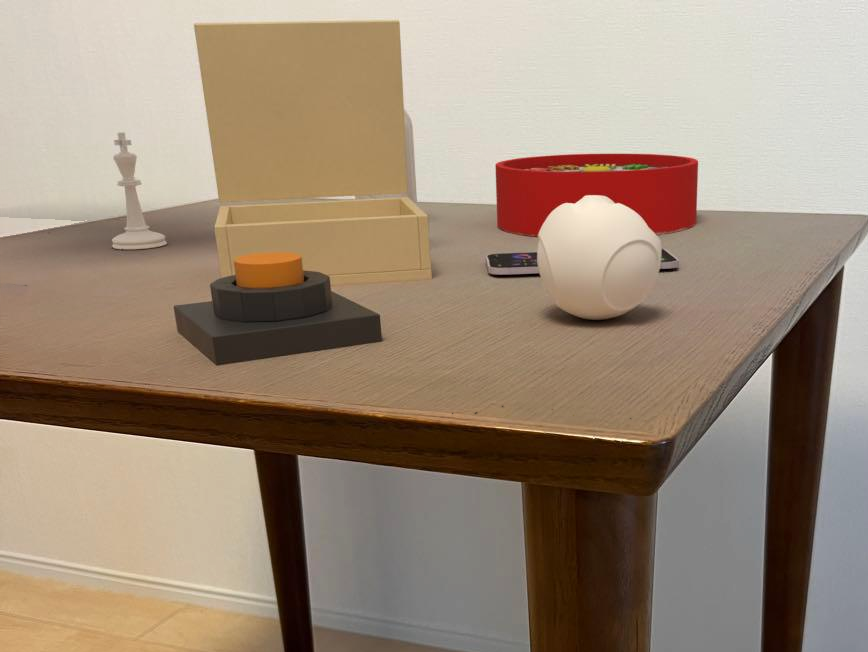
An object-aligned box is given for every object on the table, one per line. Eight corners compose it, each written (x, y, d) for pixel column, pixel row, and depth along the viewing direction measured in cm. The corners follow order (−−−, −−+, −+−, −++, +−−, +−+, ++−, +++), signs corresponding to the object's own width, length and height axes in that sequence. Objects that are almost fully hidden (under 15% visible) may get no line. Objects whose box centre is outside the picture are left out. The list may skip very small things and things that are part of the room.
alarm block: (216, 366, 61) (207, 304, 60) (177, 332, 69) (168, 276, 68) (382, 342, 66) (377, 283, 64) (327, 312, 74) (322, 260, 72)
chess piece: (137, 251, 100) (118, 134, 96) (100, 247, 102) (80, 134, 98) (178, 243, 104) (161, 131, 100) (141, 240, 106) (123, 130, 102)
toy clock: (573, 151, 120) (735, 157, 109) (573, 205, 123) (732, 217, 112) (453, 166, 106) (625, 176, 95) (456, 228, 108) (625, 244, 97)
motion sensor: (674, 310, 72) (677, 188, 69) (636, 336, 66) (638, 203, 62) (562, 303, 75) (560, 185, 72) (516, 327, 69) (512, 199, 65)
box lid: (399, 20, 86) (393, 13, 89) (193, 24, 82) (195, 16, 86) (408, 193, 93) (401, 180, 96) (219, 202, 90) (219, 188, 93)
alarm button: (247, 296, 64) (243, 265, 63) (229, 285, 67) (225, 256, 66) (313, 288, 66) (310, 258, 65) (293, 278, 69) (289, 250, 68)
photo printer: (424, 226, 110) (416, 94, 105) (383, 230, 109) (373, 96, 104) (390, 215, 119) (381, 93, 114) (352, 218, 117) (341, 94, 112)
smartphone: (681, 261, 85) (488, 268, 84) (681, 268, 85) (489, 276, 84) (663, 247, 92) (485, 253, 90) (663, 254, 92) (485, 260, 91)
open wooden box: (432, 279, 84) (428, 215, 82) (223, 293, 81) (214, 226, 79) (411, 253, 95) (408, 196, 93) (227, 264, 92) (219, 205, 90)
